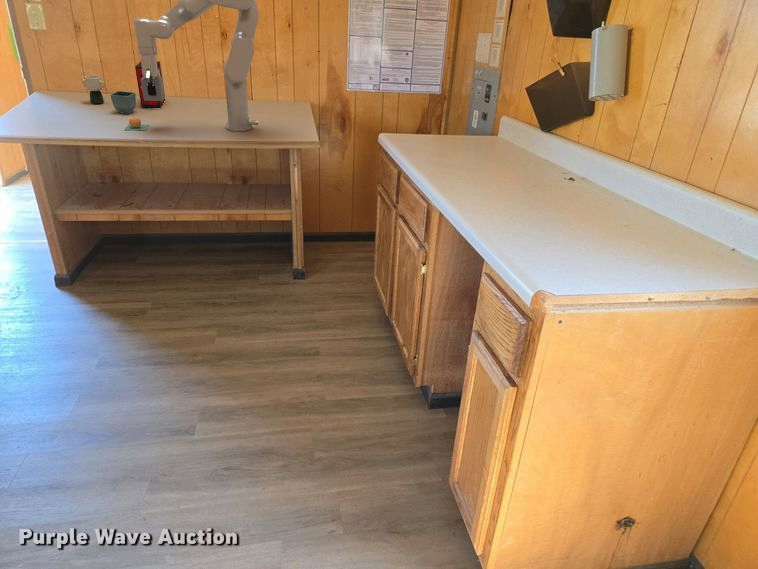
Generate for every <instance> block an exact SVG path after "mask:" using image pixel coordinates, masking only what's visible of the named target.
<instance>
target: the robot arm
mask: <svg viewBox="0 0 758 569" xmlns="http://www.w3.org/2000/svg"><path fill="white" fill-rule="evenodd" d="M214 6H218V7H222V8H229V9H233V10H237V11H238V12H237V13H238V14H237V20H236V26H235V29H234V32H233V35H232V38H231V40H230V41H231V42H230V45H231V46H230V52H229V55H228V58H227V59H226V60H225V61H224V65H223V73H224V81H225V82H224V84H225V85H224V86H225V97H226V98H225V99H226V108H227V109H226V111H227V123H226V124H225V125H224V128H225V129H226V130H228V131H233V132H247V130H248V131H250V130H252V129H253V126H259V121H258V120H256V119H251V118H250V116H249V105H248V104H249V103H248V102H249V99H248V86H247V85H248V84H247V82H248V81H247V77H248V75H249V73H250V69H251V65H252V61H253V58H254V53H255V44H254V39H255V35H256V32H257V27H258V23H259V9H258V8H259V7H258V5H257V1H256V0H180V1H178V2H177V3H176V4H175V5H174V6H173V7H171V8H170V9H168V10H167V11H166V12H164V13H163V14H162V15H160V16H159V17H158V18H157V19H151V18H147V17H137V18H135V19H133V24H134V25H133V26H134V30H135V32H134V33H135V38H136V44H137V51H138V54H139V55H140V62H141V65H142V73H143V79H147V89H148V95H150V96H156V89H155V86H154V80H155V79H156V78H157V77H158V68H157V57H156V56H157V55H158V48H157V47H158V46H157V40H156V39H160V40H169V39H170V38H171V37H172V36H173V34H174V32H175V31H177V30H178V29H179V28H181V27H182V26H184V25H185V24H186V23H189V22H191V21H194V20H196V19H198V18H200V17H201V16H202V15H203V14H204V13H206V12H207V11H209V9H212V8H213V7H214ZM151 80H152V81H151Z"/></svg>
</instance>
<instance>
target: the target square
mask: <svg viewBox="0 0 758 569" xmlns="http://www.w3.org/2000/svg"><path fill="white" fill-rule="evenodd" d="M149 127H150V124H141V126H140V127H138V128H133V127H132V126H131V125H130V124H129V123H128V124H127V125H126V126H125V128H124V129H123V130H124V131H130V130H142V131H141V132H144V131H145V132H146V130H148V128H149Z"/></svg>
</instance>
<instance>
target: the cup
mask: <svg viewBox="0 0 758 569" xmlns="http://www.w3.org/2000/svg"><path fill="white" fill-rule="evenodd" d="M151 81H152V80H151ZM141 85H142V91H143V97H144V101H163V100H164V98H165V99H166V92H165V84H164V79H163V75H162V76H158V77H157V78H156V79H155V80H154V86H155V89H156V96H150V95H148V89H147V79H143V77H142V78H141Z"/></svg>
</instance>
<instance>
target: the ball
mask: <svg viewBox="0 0 758 569" xmlns="http://www.w3.org/2000/svg"><path fill="white" fill-rule="evenodd" d="M128 122H129V123H128V124H130V125H131V126H132V127H133V128H138V127H140V126H141V125H142V121H141V119H140V118H139V117H137V116H131V117H130V118H129V120H128Z"/></svg>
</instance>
